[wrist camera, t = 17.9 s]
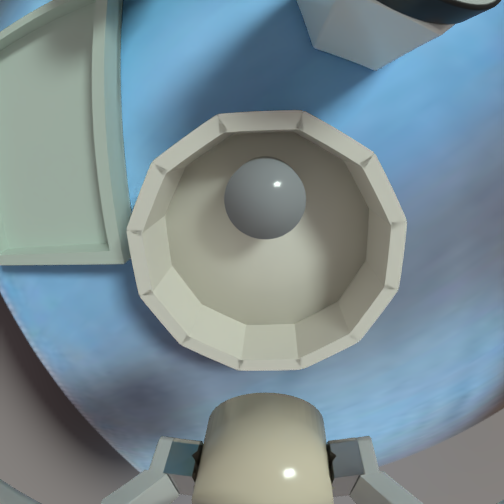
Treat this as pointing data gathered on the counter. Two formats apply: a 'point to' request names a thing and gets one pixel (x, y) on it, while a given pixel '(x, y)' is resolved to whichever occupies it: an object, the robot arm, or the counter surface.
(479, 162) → the counter surface
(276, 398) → the stone sand
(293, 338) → the bowl
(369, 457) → the robot arm
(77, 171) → the parts tray
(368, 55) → the jar
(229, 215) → the grey ball
